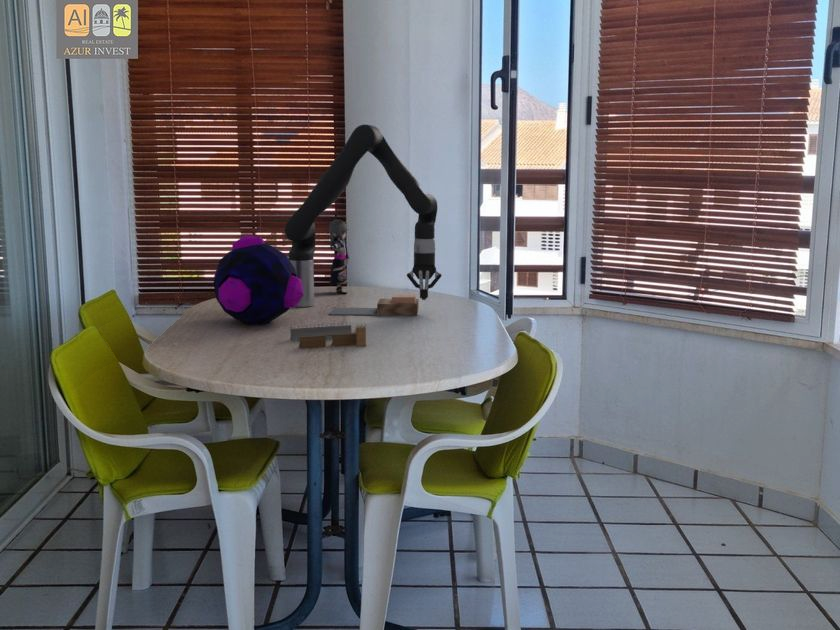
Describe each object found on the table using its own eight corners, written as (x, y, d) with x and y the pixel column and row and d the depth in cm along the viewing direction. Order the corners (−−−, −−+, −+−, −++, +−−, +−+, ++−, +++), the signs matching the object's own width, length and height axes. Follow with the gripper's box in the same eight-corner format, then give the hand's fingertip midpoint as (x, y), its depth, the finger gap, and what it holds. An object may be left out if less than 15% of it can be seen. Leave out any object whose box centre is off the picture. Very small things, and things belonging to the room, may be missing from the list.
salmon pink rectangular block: (392, 302, 321) (392, 297, 320) (393, 300, 327) (393, 294, 326) (414, 302, 320) (414, 297, 320) (415, 300, 326) (415, 294, 326)
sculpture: (262, 317, 323) (228, 240, 318) (326, 297, 309) (291, 215, 303) (211, 349, 298) (172, 265, 292) (277, 328, 283) (238, 240, 278)
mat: (328, 315, 318) (328, 313, 318) (334, 308, 332) (334, 307, 332) (374, 315, 318) (374, 314, 318) (377, 308, 331) (377, 307, 331)
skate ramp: (361, 334, 288) (361, 310, 287) (396, 357, 256) (396, 330, 255) (270, 340, 278) (269, 316, 277) (294, 364, 246) (294, 337, 245)
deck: (377, 315, 319) (377, 303, 318) (380, 309, 330) (380, 298, 330) (416, 315, 318) (417, 304, 317) (418, 309, 330) (418, 299, 329)
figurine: (345, 297, 357) (344, 221, 352) (326, 297, 357) (325, 221, 352) (349, 291, 374) (349, 218, 369) (331, 291, 374) (330, 218, 369)
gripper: (405, 252, 317) (404, 300, 320) (442, 252, 316) (442, 301, 319) (406, 249, 324) (406, 297, 327) (443, 250, 323) (442, 298, 326)
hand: (423, 299), depth 323 cm, fingers closed
